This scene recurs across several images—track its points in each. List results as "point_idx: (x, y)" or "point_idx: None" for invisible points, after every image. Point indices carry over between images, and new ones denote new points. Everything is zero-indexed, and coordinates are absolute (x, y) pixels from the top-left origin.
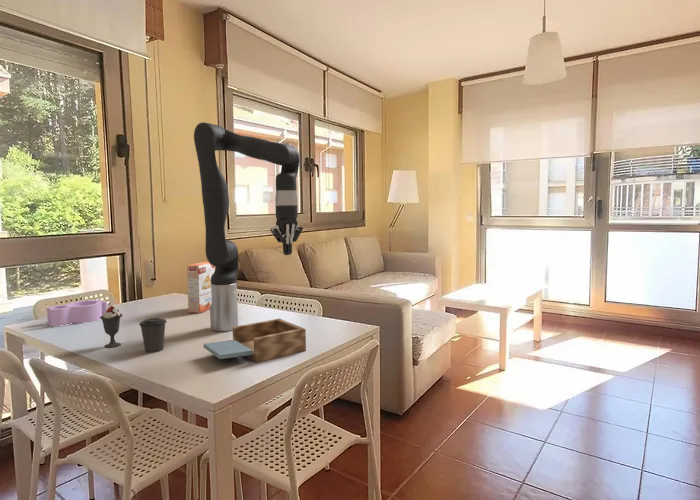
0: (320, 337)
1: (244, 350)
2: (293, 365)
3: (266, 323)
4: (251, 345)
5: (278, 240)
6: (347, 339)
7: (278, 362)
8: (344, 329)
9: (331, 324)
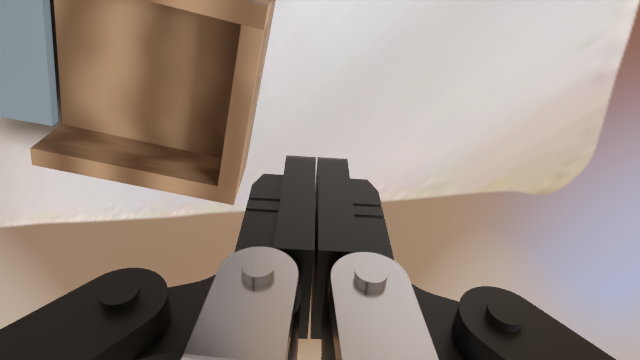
0: (377, 113)
1: (24, 110)
2: (146, 215)
3: (183, 8)
4: (95, 42)
5: (79, 324)
6: (407, 192)
7: None
8: (508, 117)
9: (558, 27)
